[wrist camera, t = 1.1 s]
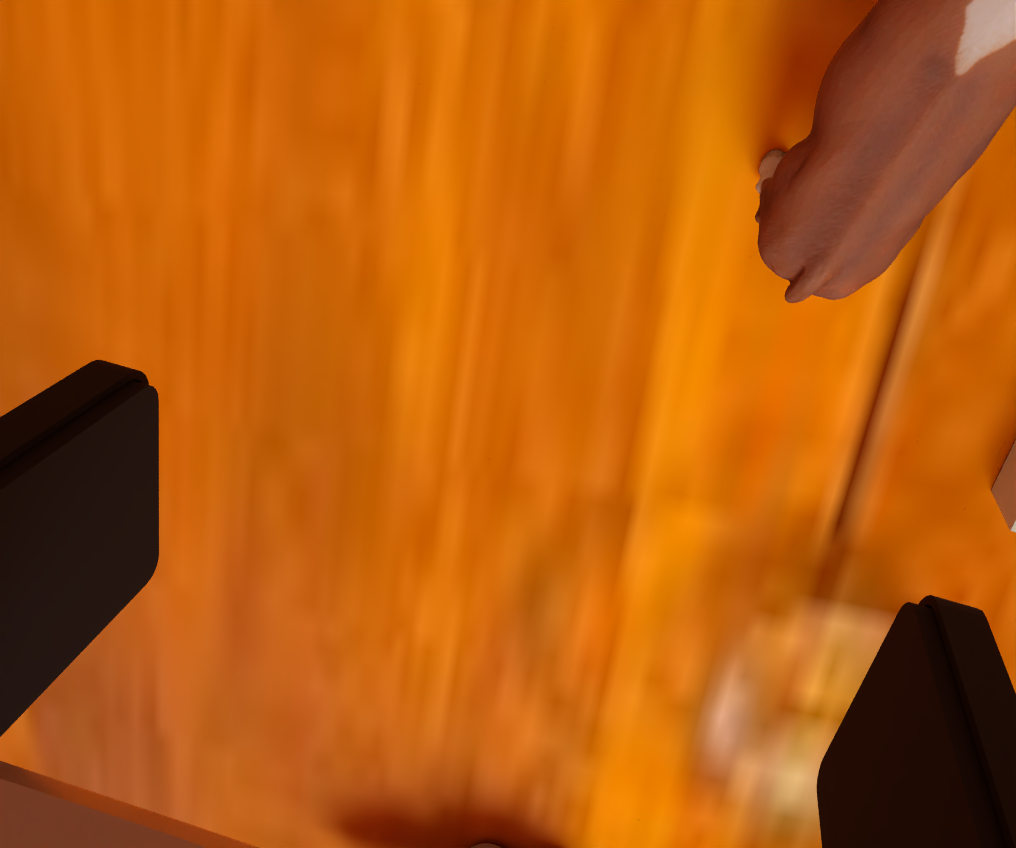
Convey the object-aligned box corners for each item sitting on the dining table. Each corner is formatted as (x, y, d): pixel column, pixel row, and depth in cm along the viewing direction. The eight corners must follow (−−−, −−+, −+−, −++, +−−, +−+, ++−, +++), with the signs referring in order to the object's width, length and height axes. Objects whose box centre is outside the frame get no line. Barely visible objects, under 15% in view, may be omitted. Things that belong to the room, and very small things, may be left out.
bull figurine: (1187, -160, 22) (1399, -214, 15) (816, 269, 29) (844, 369, 22) (1049, -269, 22) (1199, -376, 15) (705, 190, 29) (696, 267, 21)
